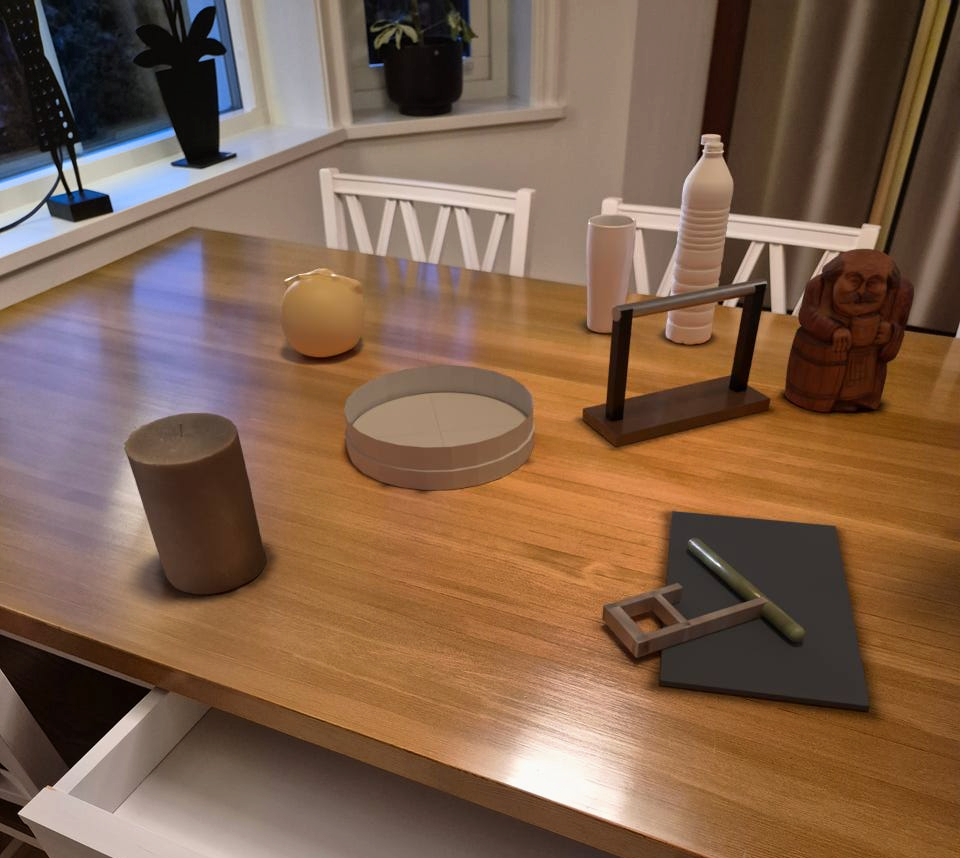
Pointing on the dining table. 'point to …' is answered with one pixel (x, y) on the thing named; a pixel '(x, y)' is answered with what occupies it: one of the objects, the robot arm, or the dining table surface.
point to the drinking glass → (608, 267)
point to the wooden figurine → (848, 332)
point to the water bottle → (700, 241)
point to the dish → (439, 427)
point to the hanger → (685, 630)
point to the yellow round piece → (322, 313)
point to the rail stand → (684, 403)
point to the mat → (758, 643)
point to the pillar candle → (197, 501)
